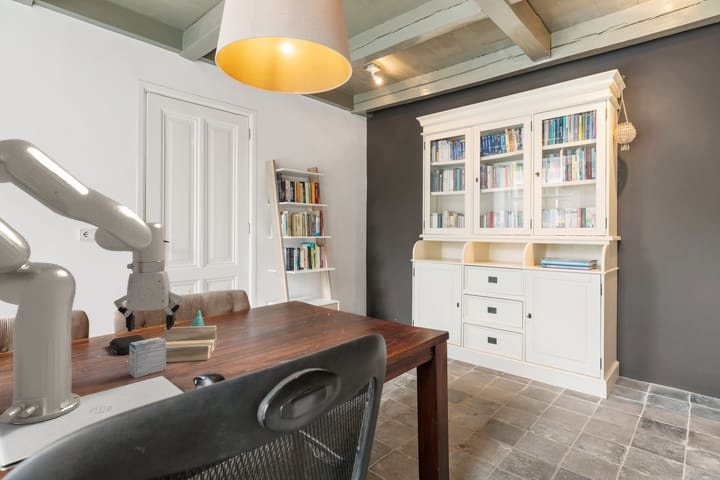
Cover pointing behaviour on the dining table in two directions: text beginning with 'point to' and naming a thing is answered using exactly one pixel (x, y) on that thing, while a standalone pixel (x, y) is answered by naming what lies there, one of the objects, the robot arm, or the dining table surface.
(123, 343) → the carrying case or bag
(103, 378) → the dining table surface
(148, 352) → the medicine box
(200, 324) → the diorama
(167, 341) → the stepped wooden block
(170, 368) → the dining table surface
